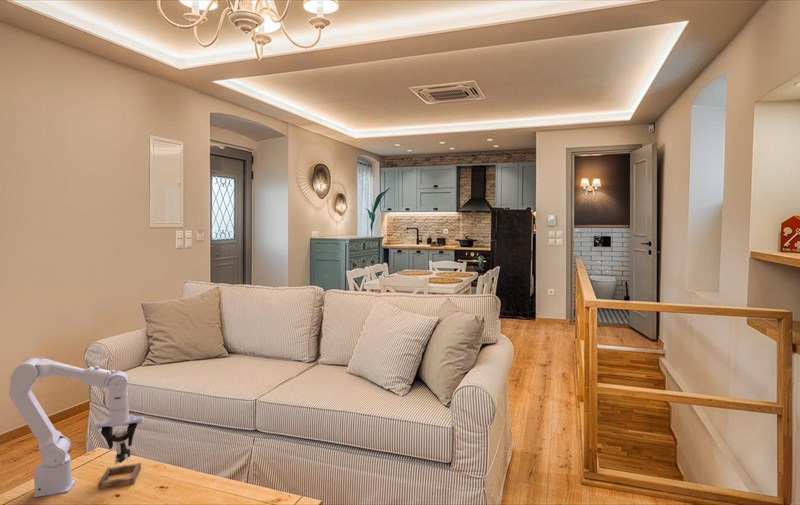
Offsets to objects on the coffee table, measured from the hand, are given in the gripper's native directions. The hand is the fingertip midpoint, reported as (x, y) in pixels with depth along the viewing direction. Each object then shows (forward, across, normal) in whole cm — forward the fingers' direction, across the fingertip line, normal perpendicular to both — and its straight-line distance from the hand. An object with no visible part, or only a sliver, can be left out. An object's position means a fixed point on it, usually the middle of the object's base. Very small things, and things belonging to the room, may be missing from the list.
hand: (120, 446), depth 162 cm
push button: (+5, 0, 0) cm, 5 cm away
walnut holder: (+10, 0, +2) cm, 11 cm away
